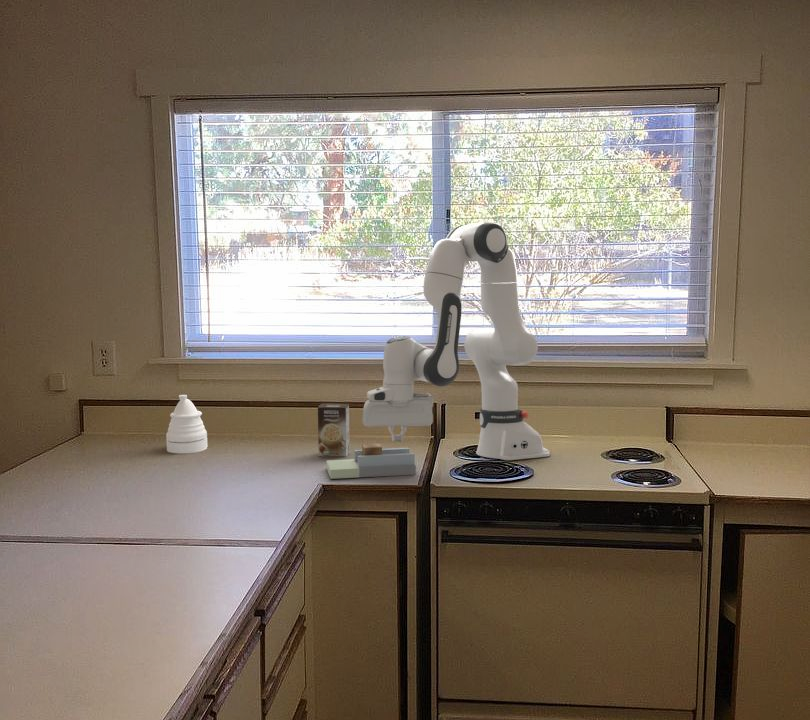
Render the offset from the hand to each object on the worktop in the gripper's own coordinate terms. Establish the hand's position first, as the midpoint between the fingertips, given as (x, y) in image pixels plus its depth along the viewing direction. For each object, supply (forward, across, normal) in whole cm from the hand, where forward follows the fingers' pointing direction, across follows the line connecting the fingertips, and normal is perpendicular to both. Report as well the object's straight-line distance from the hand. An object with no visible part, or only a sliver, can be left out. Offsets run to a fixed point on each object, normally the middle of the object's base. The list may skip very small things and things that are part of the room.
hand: (397, 441), depth 226 cm
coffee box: (+9, +16, -24) cm, 29 cm away
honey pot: (+10, +62, -44) cm, 76 cm away
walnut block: (+6, +7, 0) cm, 10 cm away
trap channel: (+9, +8, 0) cm, 12 cm away
